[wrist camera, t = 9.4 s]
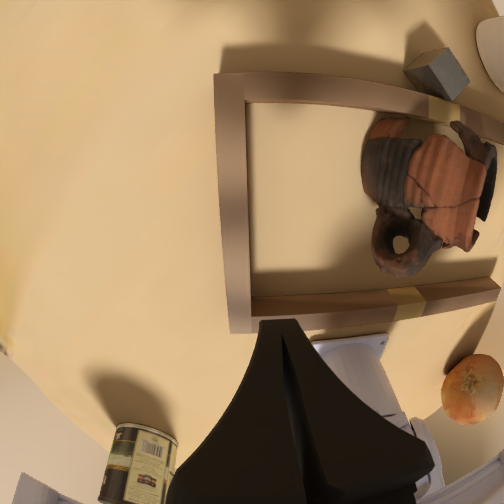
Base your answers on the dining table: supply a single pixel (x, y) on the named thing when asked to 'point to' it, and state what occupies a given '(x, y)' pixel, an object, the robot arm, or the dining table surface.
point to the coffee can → (139, 466)
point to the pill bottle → (492, 48)
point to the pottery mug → (425, 192)
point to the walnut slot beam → (236, 201)
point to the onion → (472, 389)
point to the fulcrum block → (438, 74)
